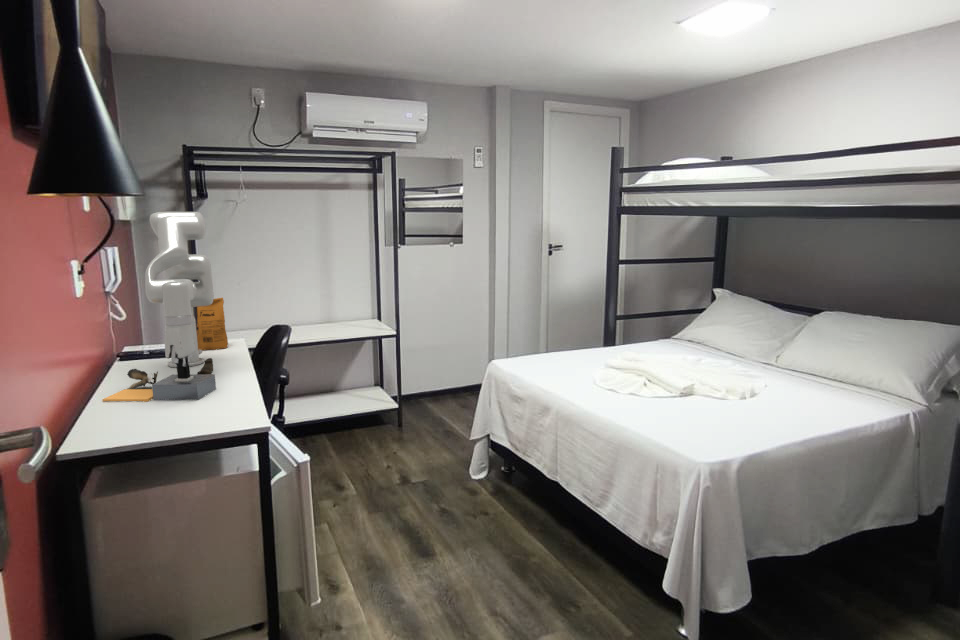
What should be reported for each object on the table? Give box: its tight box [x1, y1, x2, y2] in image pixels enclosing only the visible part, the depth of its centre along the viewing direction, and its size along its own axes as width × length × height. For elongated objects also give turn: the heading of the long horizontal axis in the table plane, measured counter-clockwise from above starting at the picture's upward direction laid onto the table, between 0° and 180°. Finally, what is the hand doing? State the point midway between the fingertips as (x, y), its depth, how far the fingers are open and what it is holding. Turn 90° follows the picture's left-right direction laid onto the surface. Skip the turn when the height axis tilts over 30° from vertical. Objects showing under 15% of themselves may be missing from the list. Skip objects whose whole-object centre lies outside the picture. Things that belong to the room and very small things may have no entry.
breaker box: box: [151, 373, 217, 401], centre depth 187 cm, size 12×14×5 cm
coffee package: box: [196, 297, 229, 352], centre depth 255 cm, size 10×12×22 cm
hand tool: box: [196, 357, 214, 374], centre depth 212 cm, size 19×4×5 cm, turn 14°
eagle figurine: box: [126, 368, 159, 389], centre depth 195 cm, size 8×7×9 cm
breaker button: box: [175, 376, 194, 381], centre depth 187 cm, size 4×4×4 cm
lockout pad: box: [102, 388, 153, 403], centre depth 186 cm, size 11×14×1 cm
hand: (184, 377), depth 187 cm, fingers closed
